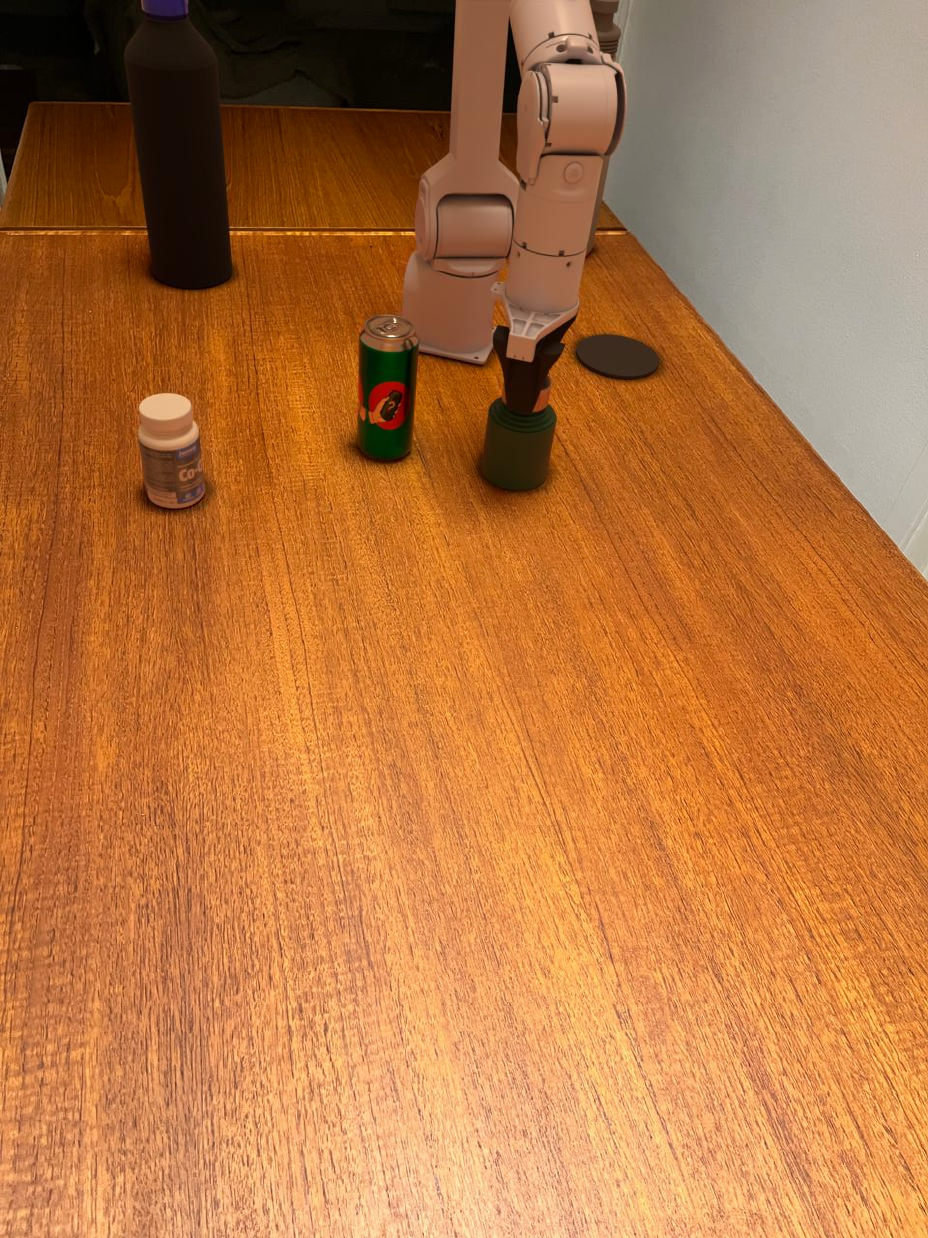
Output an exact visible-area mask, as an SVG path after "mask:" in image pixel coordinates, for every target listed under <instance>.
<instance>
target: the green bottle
mask: <svg viewBox="0 0 928 1238" xmlns="http://www.w3.org/2000/svg"><path fill="white" fill-rule="evenodd" d="M557 422H558V417H557V413H556V411H555V409H554V408H553V406H552V405H551V404H550V403H548V405H547V407H545V408H544V409H543V410H541V411H537V412H532V414H531V415H526V414H521V413H517V412H512V411H508V410H507V405H506V404H505V403H504V402H503V400H502V397H501V396H499V397H497V398H496V399H494V400H493V402H491V403H490V405H489V407H488V409H487V416H486V425H485V433H484V441H483V447H482V454H481V455H482V456H481V463H480V470H481V473H482V475H483V477H484V478H485V479H486V480H487V481H488V482H489V483H490V484H492V485H494V486H496V487H497V488H501V489H504V490H508V491H515V492H516V491H518V492H519V491H521V492H522V491H530V490H533V489H535V488H538V487H539V486H541V485H542V484H543V483H544V482H545V481H546V479H547V474H548V470H549V465H550V459H551V453H552V448H553V443H554V438H555V433H556V432H555V431H556V426H557Z"/></svg>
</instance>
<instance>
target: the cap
mask: <svg viewBox="0 0 928 1238" xmlns="http://www.w3.org/2000/svg"><path fill="white" fill-rule="evenodd" d="M552 383H553V382H552V379H551V376H549V374H548V375H547V376H546V378H545V380H544V383H543V386H542V389H541V392H540V395H539V398H538V400H537V403H536V405H535V408H534V410H533V412H537V411H541V410H543V409H544V408H545V407H547V405H548V404H549V402H550V397H551V392H552ZM501 387H502V388H501V394H500V395H501V396H500V397H502V400H503V402H504V403H505V404H506V398H505V386H504V381H503V382H502V386H501Z"/></svg>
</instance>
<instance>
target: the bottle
mask: <svg viewBox="0 0 928 1238" xmlns="http://www.w3.org/2000/svg"><path fill="white" fill-rule="evenodd" d="M140 1H141V9H142V11H143V12H144V17H143V20H142V23H141V25H140V26H139V27H138V29H137V30H136V32H135V33H134V34H133V36H132V37H131V38H130V40H129V41H128V43H127V45H126V46H125V49H124V53H123V59H124V65H125V74H126V79H127V80H126V81H127V88H128V90H127V91H128V96H129V104H130V105H129V106H130V111H131V119H132V126H133V127H132V128H133V135H134V143H135V149H136V156H137V157H136V158H137V165H138V173H139V179H140V187H141V195H142V203H143V211H144V215H145V216H144V218H145V226H146V233H147V240H148V241H147V242H148V249H149V256H150V264H151V270H152V271H151V272H152V275H153V276H154V277H155V278H156V279H157V280H159V281H160V282H161V283H164V284H166V285H168V286H171V287H176V288H181V289H195V290H196V289H205V288H212V287H215V286H217V285H220V284H223V283H224V282H226V280H228V279H229V278H230V277H231V276H232V274H233V258H232V257H233V256H232V246H231V232H230V218H229V205H228V203H229V202H228V191H227V176H226V163H225V150H224V149H225V148H224V137H223V136H224V135H223V134H224V133H223V122H222V108H221V107H222V106H221V96H220V95H221V94H220V80H219V68H218V58H217V55H216V53H215V51H214V49H213V48H212V47H211V45H210V44H209V43H208V41H207V40H206V39H205V38H204V37H203V36H202V35H201V34H200V33H199V32H198V30H197V29H196V28H195V27H194V25H193V24H192V22H191V20H190V17H189V15H188V13H189V12H190V9H189V0H140Z"/></svg>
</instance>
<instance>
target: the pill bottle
mask: <svg viewBox="0 0 928 1238" xmlns="http://www.w3.org/2000/svg"><path fill="white" fill-rule="evenodd" d="M138 414H139V421H140V425H139V427H138V430H137V440H138V446H139V453H140V458H141V465H142V471H143V477H144V484H145V490H146V495H147V497H148V499H149V500H150V502H152V503H153V504H155V505H157V506H159V507H163V508H166V509H183V508H187V507H190V506H192V505H194V504H196V503H198V502H199V501H200V500H201V499H202V498H203V496H204V495H205V493H206V483H205V475H204V464H203V456H202V445H201V433H200V429H199V426H198V424H197V423H196V422H195V420H194V413H193V405H192V402H191V401H190V399H188V398H187V397H185V396H183V395H180V394H178V393H171V392H163V393H155V394H152V395H150V396H147V397H146V398H144V399H143V400H142V401H140V403H139V405H138Z"/></svg>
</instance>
